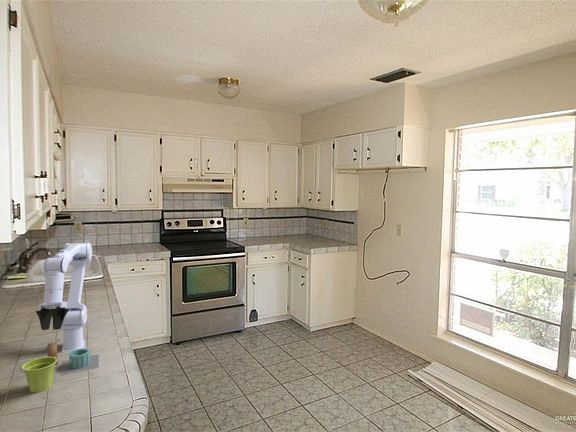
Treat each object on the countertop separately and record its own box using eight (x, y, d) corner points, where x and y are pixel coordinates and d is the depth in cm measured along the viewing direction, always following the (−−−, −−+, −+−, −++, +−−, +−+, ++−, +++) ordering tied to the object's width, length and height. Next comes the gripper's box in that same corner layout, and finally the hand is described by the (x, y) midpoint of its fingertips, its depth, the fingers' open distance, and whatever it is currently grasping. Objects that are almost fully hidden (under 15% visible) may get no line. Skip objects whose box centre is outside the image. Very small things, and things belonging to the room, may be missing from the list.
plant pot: (20, 388, 119) (19, 362, 119) (54, 378, 126) (53, 353, 125) (26, 400, 113) (24, 373, 112) (61, 388, 119) (60, 363, 119)
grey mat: (62, 362, 138) (62, 361, 138) (98, 355, 143) (98, 354, 143) (60, 376, 127) (60, 375, 127) (98, 368, 133) (98, 367, 133)
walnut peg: (48, 364, 136) (47, 343, 135) (58, 362, 137) (57, 342, 137) (47, 367, 133) (46, 346, 133) (57, 365, 135) (56, 345, 134)
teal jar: (70, 362, 136) (69, 350, 136) (90, 358, 140) (90, 347, 139) (69, 370, 131) (68, 358, 130) (90, 366, 134) (90, 354, 133)
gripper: (31, 292, 131) (27, 331, 128) (53, 289, 124) (50, 330, 121) (51, 291, 137) (49, 329, 134) (74, 288, 130) (71, 328, 127)
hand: (51, 329), depth 128 cm, fingers open, 7 cm apart
